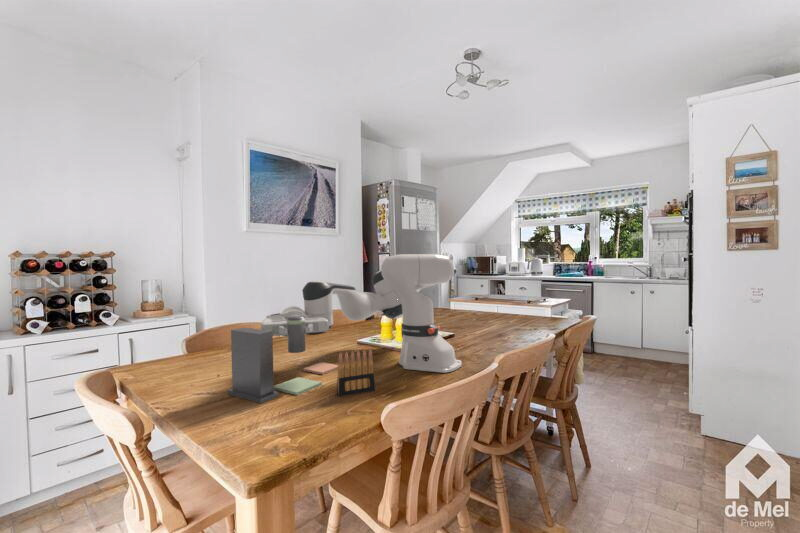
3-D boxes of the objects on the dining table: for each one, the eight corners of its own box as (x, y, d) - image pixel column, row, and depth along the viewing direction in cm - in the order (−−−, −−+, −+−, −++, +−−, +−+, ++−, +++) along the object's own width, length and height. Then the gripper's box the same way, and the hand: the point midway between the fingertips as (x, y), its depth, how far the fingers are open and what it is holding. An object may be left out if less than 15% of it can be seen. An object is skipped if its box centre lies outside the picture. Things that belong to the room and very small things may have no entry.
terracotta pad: (340, 367, 134) (340, 365, 134) (322, 374, 126) (322, 372, 126) (321, 364, 139) (321, 362, 139) (302, 370, 131) (302, 368, 131)
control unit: (278, 396, 108) (277, 331, 107) (260, 403, 102) (259, 335, 102) (246, 387, 115) (244, 326, 114) (227, 394, 110) (226, 330, 109)
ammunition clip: (338, 396, 107) (337, 353, 106) (336, 394, 108) (336, 352, 108) (375, 390, 111) (374, 349, 111) (372, 388, 113) (372, 347, 113)
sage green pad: (321, 384, 117) (321, 382, 117) (297, 395, 108) (296, 392, 108) (298, 379, 122) (297, 377, 122) (272, 389, 113) (272, 386, 113)
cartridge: (309, 349, 116) (308, 316, 115) (296, 353, 111) (295, 319, 111) (297, 347, 118) (296, 315, 118) (283, 351, 114) (283, 317, 113)
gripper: (326, 330, 130) (332, 338, 117) (262, 335, 124) (260, 344, 111) (326, 311, 130) (331, 318, 117) (261, 315, 124) (259, 322, 110)
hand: (296, 331), depth 114 cm, fingers closed on cartridge, 5 cm apart
